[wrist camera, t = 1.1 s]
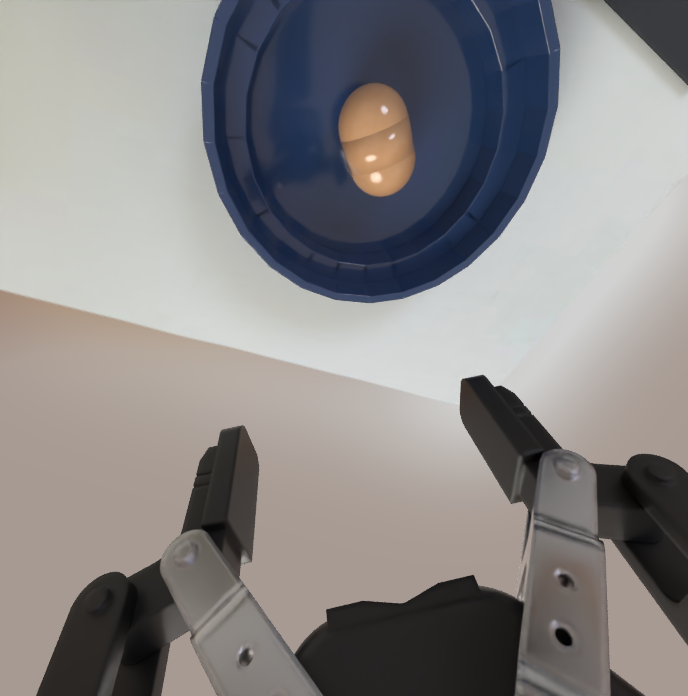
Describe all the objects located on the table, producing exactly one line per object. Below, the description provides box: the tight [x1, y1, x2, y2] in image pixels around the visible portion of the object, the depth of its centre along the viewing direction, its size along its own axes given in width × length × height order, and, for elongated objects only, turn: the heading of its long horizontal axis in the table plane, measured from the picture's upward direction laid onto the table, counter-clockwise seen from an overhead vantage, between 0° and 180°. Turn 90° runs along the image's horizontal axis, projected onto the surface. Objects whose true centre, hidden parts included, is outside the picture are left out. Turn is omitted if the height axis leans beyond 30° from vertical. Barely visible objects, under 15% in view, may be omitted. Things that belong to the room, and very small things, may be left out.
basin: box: [201, 0, 560, 303], centre depth 22 cm, size 20×20×5 cm
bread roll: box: [338, 82, 416, 197], centre depth 22 cm, size 6×4×4 cm
